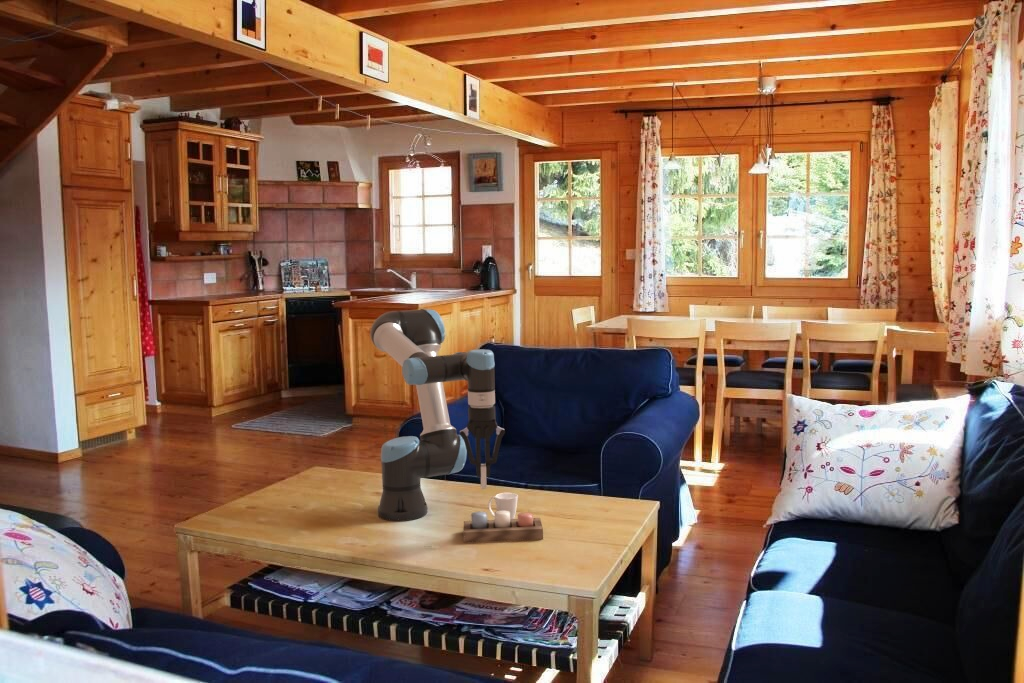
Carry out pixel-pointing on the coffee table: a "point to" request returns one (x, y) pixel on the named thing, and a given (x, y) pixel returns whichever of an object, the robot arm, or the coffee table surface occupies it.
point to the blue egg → (479, 520)
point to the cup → (505, 503)
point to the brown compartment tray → (503, 532)
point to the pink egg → (525, 520)
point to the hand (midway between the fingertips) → (483, 487)
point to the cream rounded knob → (502, 519)
